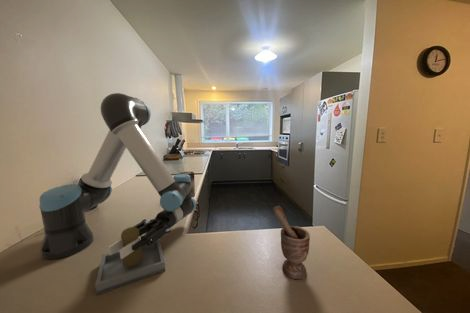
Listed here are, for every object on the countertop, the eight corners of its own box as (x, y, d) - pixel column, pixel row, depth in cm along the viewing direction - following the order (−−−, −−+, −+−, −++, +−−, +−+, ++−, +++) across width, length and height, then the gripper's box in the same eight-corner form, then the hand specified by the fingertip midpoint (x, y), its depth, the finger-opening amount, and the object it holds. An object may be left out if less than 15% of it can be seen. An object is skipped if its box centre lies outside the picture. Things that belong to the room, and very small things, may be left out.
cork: (138, 251, 65) (135, 222, 63) (146, 259, 61) (143, 228, 59) (119, 261, 60) (115, 230, 59) (126, 270, 56) (123, 237, 55)
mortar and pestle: (267, 273, 58) (268, 213, 55) (273, 255, 66) (274, 202, 63) (307, 284, 53) (310, 220, 50) (308, 264, 61) (311, 207, 58)
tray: (96, 295, 51) (95, 285, 50) (103, 263, 63) (102, 255, 62) (165, 270, 59) (164, 262, 59) (159, 246, 71) (159, 239, 71)
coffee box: (181, 198, 121) (180, 174, 119) (180, 194, 127) (179, 172, 125) (195, 196, 125) (194, 173, 122) (193, 193, 131) (192, 171, 128)
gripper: (187, 229, 74) (137, 271, 52) (154, 222, 80) (97, 257, 58) (186, 211, 73) (135, 247, 51) (152, 205, 79) (94, 235, 57)
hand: (115, 252), depth 55 cm, fingers closed on cork, 4 cm apart
